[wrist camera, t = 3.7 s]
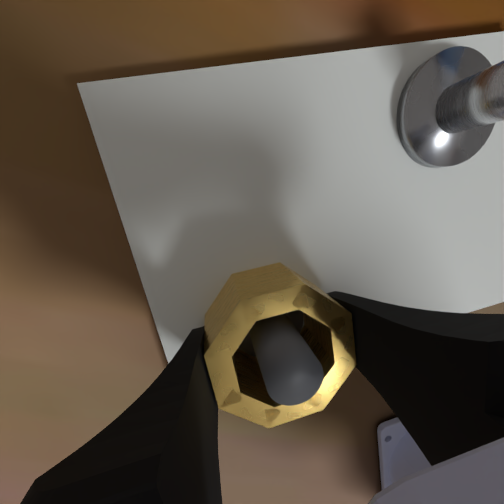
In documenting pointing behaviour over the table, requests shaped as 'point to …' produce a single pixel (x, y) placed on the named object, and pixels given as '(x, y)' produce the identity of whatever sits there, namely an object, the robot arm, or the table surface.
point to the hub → (450, 107)
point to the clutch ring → (246, 366)
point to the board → (296, 192)
